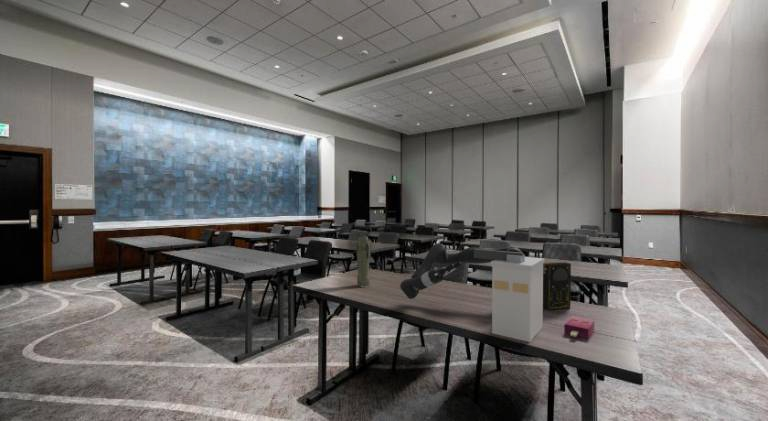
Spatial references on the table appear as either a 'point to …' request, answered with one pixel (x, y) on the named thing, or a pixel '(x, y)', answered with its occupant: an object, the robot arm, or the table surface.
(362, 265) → the thermos
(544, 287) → the voltmeter
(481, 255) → the cable bar
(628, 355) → the table surface
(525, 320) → the cabinet
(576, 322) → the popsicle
